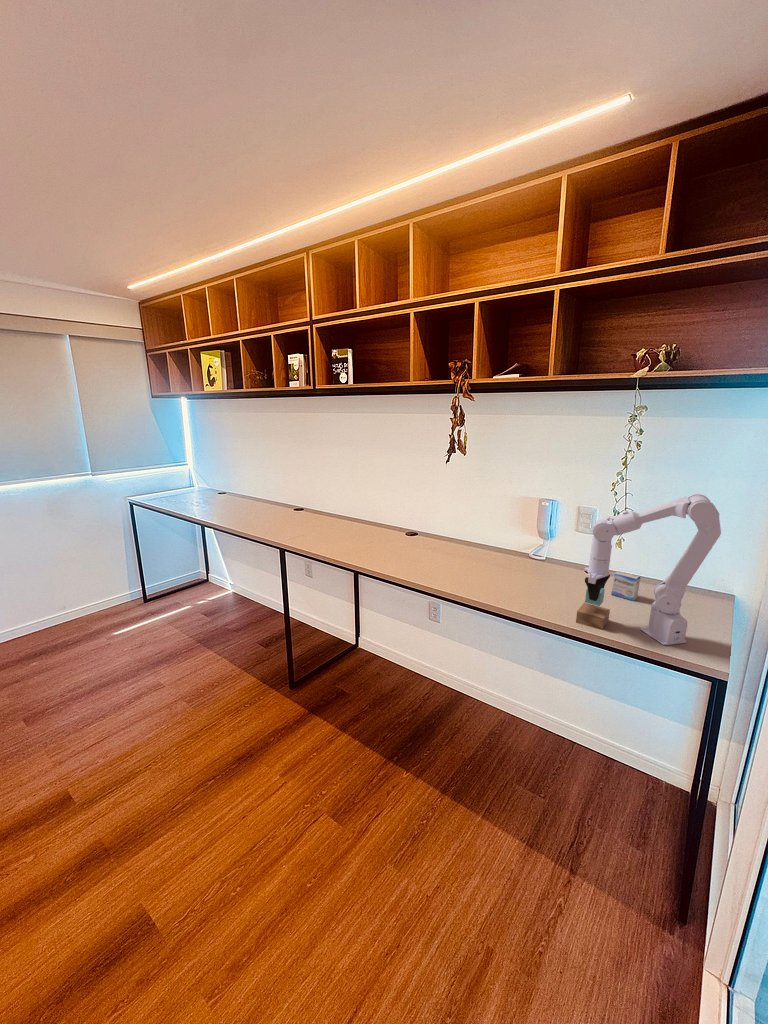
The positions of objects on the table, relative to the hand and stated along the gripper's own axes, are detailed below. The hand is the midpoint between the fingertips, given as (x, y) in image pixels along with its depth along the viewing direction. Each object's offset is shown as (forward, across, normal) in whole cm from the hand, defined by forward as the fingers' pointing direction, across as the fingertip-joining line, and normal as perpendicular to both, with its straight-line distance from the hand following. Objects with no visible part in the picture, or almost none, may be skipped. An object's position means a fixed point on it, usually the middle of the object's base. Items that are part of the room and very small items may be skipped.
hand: (595, 597), depth 141 cm
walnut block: (+8, 0, 0) cm, 8 cm away
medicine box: (+9, -28, +4) cm, 29 cm away
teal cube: (+2, 0, 0) cm, 2 cm away
